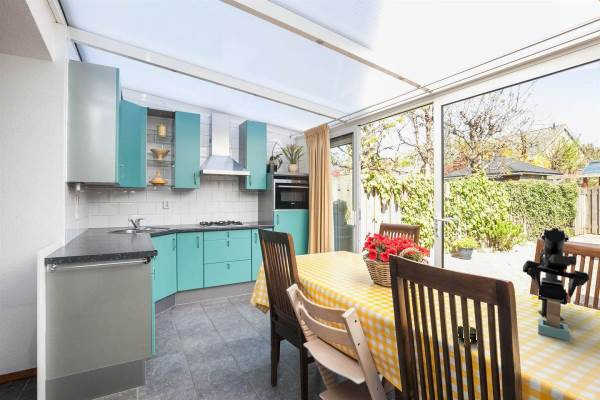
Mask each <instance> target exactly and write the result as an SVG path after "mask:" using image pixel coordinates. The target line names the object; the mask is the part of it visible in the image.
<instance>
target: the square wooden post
mask: <svg viewBox="0 0 600 400" xmlns="http://www.w3.org/2000/svg"><path fill="white" fill-rule="evenodd" d="M561 306H562V304H561V303H560V302H557V301H551V300H547V317H545V320H546V326H550V327H555V328H559V329H560V323H561V320H560V316H561V310H562V309H561V308H562V307H561Z"/></svg>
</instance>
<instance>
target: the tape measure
mask: <svg viewBox="0 0 600 400" xmlns="http://www.w3.org/2000/svg"><path fill="white" fill-rule="evenodd" d="M457 326H458V325H457ZM462 326H463V325H459V326H458V334H459V337H458V338H459V339H460V341H461V342H463V343H465V342H464V338H463V327H462ZM468 326H469V325H468ZM469 327H470V339H471V343H470V344H478V343H477V340H476V329H477V328H475V327H473V326H469Z"/></svg>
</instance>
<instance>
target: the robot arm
mask: <svg viewBox="0 0 600 400" xmlns="http://www.w3.org/2000/svg"><path fill="white" fill-rule="evenodd" d="M569 239H570V237H569V235H567V233H566V232H565V231H564V229H559V228H557V227H556V228H555V227H551V229H549V228H548V229H547V228H544V230H543V231H541V240H543V243H544V248H543V250H542V251H541V252H540V253H539V261H534V260H529V259H527V260H526V261H525V263H523V264H524V265H523V266H522V272H523V273H525V274H526V275H528V276H529V277H530V278H531V279H532V280H533V282H534V284H535V286H536V287H537V289H538V294H537V296H538V297H537V300H538V301H541V310H538V313H539V314H540V315H541V316H542V317H543V318H547V300H551V301H557V302H560V303H561V305H564V306H565V305H567V304H568V297H569V298H572V297H573V294H575V291H576V288H577V287H581V286H584V285H585V284H586V283H587V282H589V281H590V275H589V274H588V273H587V272H584V271H580V270H576V269H574V270H573V272H568V271H567V269H568V267H569V266H572V267H573V266H576V265H577V256H573V255H564V247H565V243H567V242H568V241H569ZM565 270H566V271H565ZM541 272H542V273H545V277H541ZM559 277H561V278H566V279H567V278H568V281H569V282H568V286H567V287H568V292H567V289H565V287H564V284H563V283H564V282H563V280H561V279H559ZM560 321H564V318H563V317H562V316H561V315H560Z"/></svg>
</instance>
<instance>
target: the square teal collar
mask: <svg viewBox="0 0 600 400" xmlns="http://www.w3.org/2000/svg"><path fill="white" fill-rule="evenodd" d="M537 320H538V322H537V323H538V325H537V328H538V329H537V332H538V333H537V334H540V335H544V336H548V337H551V338H554V339H555V338H556V339H559V340H564V341H568V342H569V341H570V330H569V326H568V323H562V322H560V329H559V328H555V327H550V326H546V318H545V319H543V318H540V317H539V318H538V319H537Z"/></svg>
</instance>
